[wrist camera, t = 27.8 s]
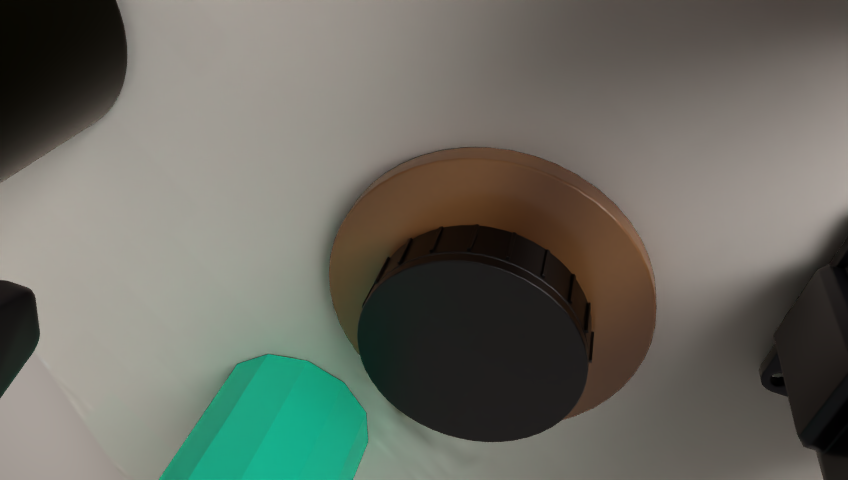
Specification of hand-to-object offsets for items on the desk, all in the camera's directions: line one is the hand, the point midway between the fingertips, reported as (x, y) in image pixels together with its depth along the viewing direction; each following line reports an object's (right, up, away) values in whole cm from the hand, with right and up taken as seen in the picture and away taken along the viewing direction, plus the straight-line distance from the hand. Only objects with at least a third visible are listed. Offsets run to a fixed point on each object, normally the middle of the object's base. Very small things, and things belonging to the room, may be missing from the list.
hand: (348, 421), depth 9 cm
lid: (+2, -1, +12) cm, 12 cm away
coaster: (+3, +1, +13) cm, 14 cm away
